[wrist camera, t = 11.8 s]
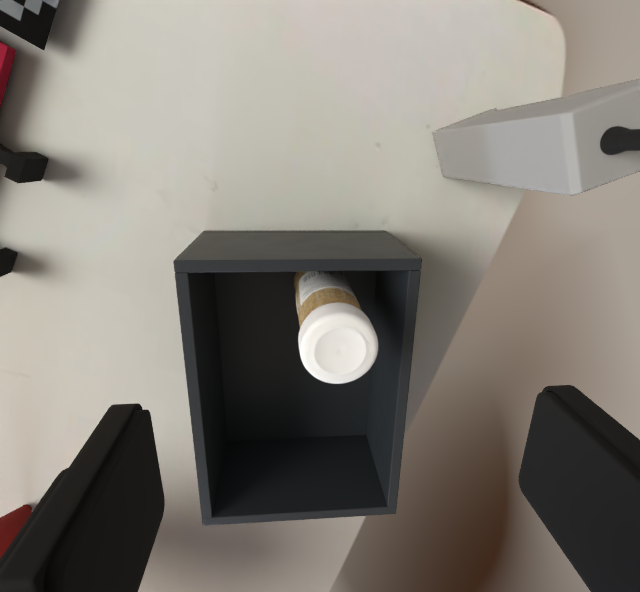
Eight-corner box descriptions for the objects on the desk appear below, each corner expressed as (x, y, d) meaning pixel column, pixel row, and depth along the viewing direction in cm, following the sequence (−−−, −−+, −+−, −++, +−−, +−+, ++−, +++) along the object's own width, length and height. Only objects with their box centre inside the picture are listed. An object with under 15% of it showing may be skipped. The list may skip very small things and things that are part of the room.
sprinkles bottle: (292, 303, 36) (297, 386, 23) (295, 253, 34) (301, 312, 22) (343, 305, 36) (375, 387, 24) (348, 256, 35) (384, 315, 22)
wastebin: (203, 230, 34) (173, 260, 24) (385, 230, 35) (422, 258, 26) (221, 440, 41) (202, 526, 32) (371, 434, 42) (396, 514, 33)
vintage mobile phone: (497, 155, 34) (981, 161, 10) (441, 176, 34) (790, 230, 11) (489, 109, 33) (1017, -2, 9) (430, 132, 33) (800, 79, 9)
